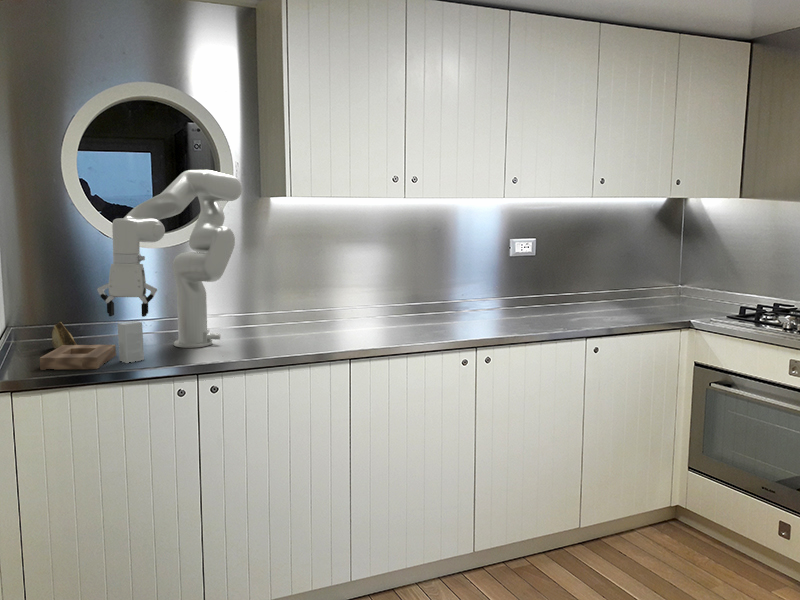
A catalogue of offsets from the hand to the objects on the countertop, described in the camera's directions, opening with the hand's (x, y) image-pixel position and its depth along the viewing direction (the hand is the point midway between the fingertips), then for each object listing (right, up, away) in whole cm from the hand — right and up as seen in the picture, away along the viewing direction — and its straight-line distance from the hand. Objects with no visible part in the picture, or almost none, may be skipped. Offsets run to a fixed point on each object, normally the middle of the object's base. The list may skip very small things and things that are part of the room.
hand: (127, 315), depth 215 cm
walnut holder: (-15, -14, 0) cm, 20 cm away
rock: (-27, -12, +18) cm, 35 cm away
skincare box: (0, -14, +3) cm, 14 cm away
